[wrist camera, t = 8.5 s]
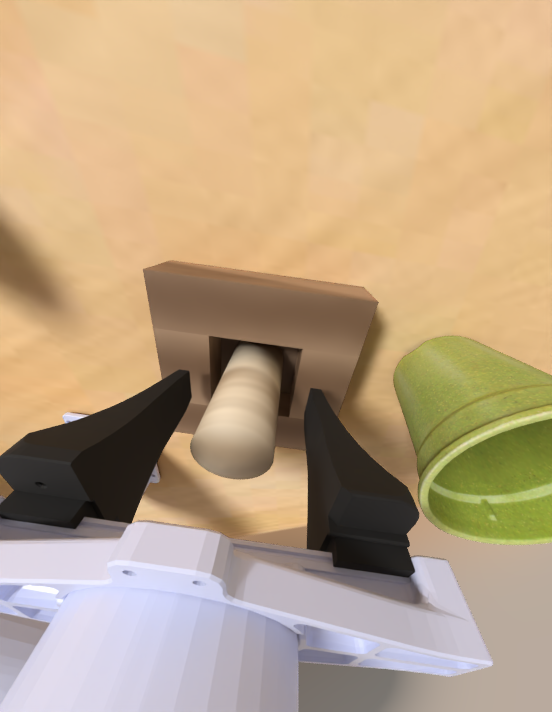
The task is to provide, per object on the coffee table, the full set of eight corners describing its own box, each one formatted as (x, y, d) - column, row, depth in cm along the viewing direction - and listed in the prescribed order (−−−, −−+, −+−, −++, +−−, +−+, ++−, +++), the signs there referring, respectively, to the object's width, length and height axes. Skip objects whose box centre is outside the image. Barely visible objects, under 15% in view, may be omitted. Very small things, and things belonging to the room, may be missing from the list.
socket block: (321, 423, 20) (324, 453, 18) (186, 404, 20) (171, 430, 18) (363, 287, 14) (378, 302, 11) (171, 260, 14) (142, 269, 12)
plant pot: (364, 420, 20) (405, 542, 12) (374, 317, 15) (450, 412, 8) (485, 416, 18) (612, 549, 11) (536, 303, 14) (817, 400, 6)
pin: (281, 379, 18) (271, 483, 11) (235, 375, 18) (196, 475, 11) (285, 337, 16) (275, 429, 9) (233, 333, 16) (184, 421, 9)
